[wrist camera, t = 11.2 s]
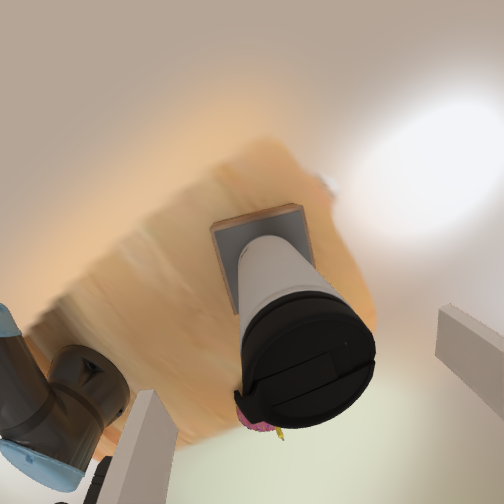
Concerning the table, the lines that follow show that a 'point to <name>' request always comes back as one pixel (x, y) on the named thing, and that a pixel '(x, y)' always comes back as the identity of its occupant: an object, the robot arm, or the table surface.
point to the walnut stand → (250, 226)
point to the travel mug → (296, 340)
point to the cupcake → (258, 425)
